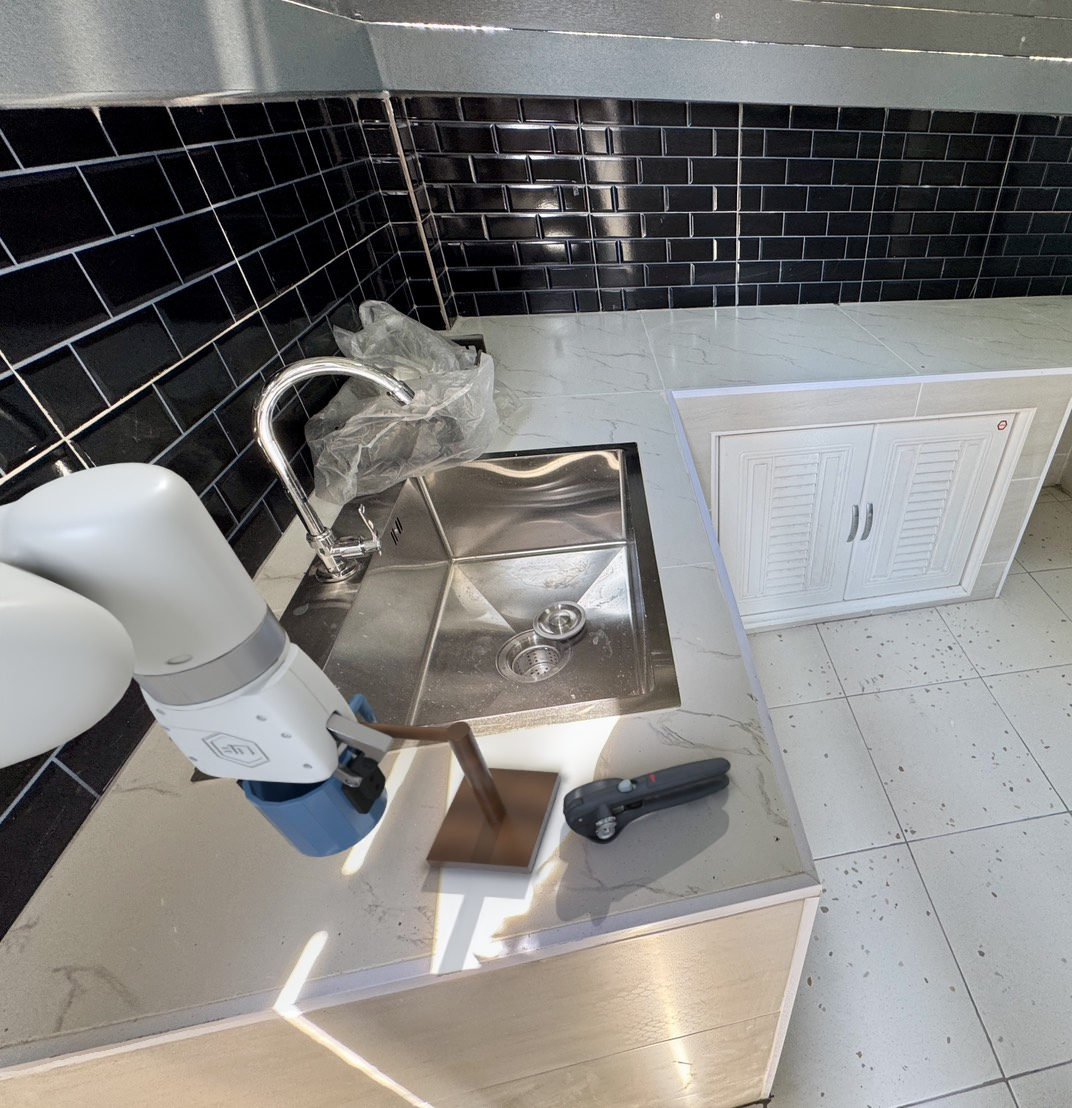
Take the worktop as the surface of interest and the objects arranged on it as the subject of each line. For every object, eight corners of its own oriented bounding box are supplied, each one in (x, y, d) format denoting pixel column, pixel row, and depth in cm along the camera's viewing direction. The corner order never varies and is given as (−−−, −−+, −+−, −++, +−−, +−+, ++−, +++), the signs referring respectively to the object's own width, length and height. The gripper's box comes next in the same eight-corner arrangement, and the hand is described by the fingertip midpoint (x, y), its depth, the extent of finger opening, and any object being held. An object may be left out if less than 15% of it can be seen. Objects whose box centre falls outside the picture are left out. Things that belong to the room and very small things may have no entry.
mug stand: (530, 874, 58) (491, 787, 48) (360, 861, 59) (287, 773, 49) (560, 779, 66) (532, 688, 56) (410, 769, 67) (355, 677, 57)
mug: (358, 860, 49) (317, 810, 44) (270, 854, 49) (219, 803, 44) (424, 739, 58) (395, 685, 53) (348, 734, 58) (313, 680, 53)
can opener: (570, 863, 59) (561, 835, 56) (563, 799, 64) (554, 770, 61) (741, 809, 64) (742, 781, 60) (721, 754, 69) (721, 725, 65)
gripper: (25, 688, 36) (188, 831, 47) (308, 705, 36) (406, 846, 47) (131, 602, 42) (254, 747, 53) (375, 615, 41) (448, 760, 52)
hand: (324, 793), depth 50 cm, fingers closed on mug, 7 cm apart
